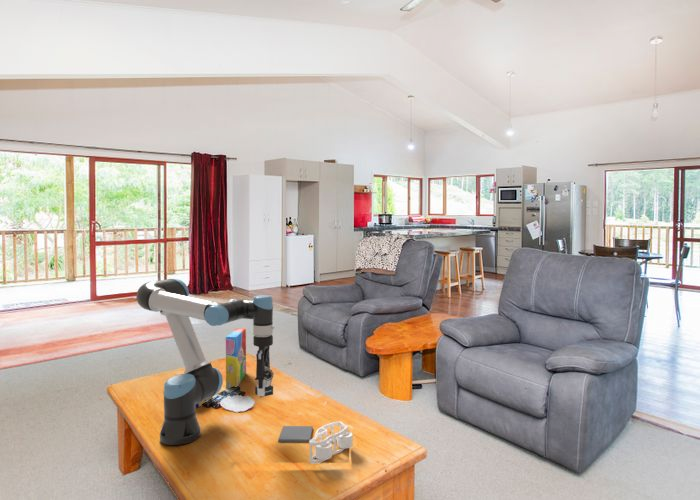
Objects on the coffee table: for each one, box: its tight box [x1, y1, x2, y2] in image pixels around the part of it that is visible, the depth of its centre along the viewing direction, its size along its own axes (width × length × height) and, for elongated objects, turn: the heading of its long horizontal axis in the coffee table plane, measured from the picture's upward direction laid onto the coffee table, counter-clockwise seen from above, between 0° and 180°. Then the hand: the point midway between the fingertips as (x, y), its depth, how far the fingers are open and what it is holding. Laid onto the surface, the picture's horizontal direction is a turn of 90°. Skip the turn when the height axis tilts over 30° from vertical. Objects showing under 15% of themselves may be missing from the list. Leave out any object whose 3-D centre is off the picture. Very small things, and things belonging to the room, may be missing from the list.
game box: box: [225, 328, 247, 389], centre depth 241 cm, size 21×6×27 cm, turn 179°
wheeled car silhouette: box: [308, 421, 354, 465], centre depth 166 cm, size 20×11×7 cm, turn 139°
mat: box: [277, 425, 314, 443], centre depth 180 cm, size 12×12×1 cm
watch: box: [254, 366, 275, 398], centre depth 182 cm, size 6×8×11 cm
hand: (263, 392), depth 182 cm, fingers closed on watch, 8 cm apart
